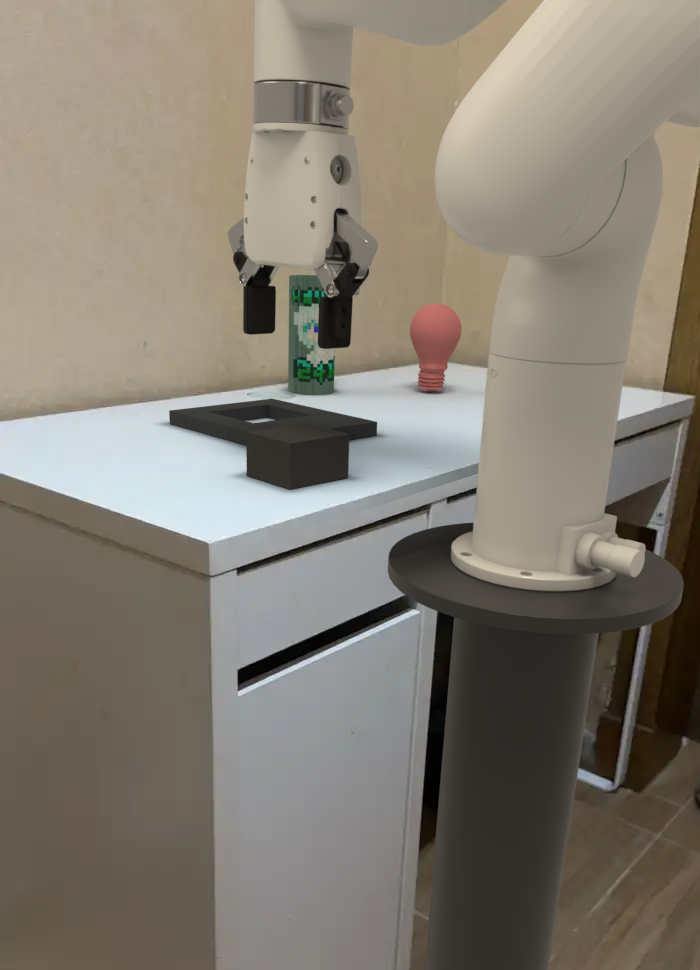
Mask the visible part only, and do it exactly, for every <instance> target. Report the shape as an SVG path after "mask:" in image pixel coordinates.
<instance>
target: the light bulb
mask: <svg viewBox="0 0 700 970" xmlns="http://www.w3.org/2000/svg"><path fill="white" fill-rule="evenodd" d="M409 336H410V341H411V344H412V346H413V349H414V351H415V354H416V356H417V358H418V368H419V372H418V373H417V376H418V377H417V380H418V381H417V384H418V385H417V387H418V388H419V389H421V390H425V391H426V392H428V393H433V392H436V391H438V390H442V389H445V388H444V385H445V379H446V378H445V377H446V375H445V372H446V371H447V369H448V367H449V366H448V363H449V360H450V359H451V357H452V355H453V354H454V352H455V350H456V348H457V346H458V345H459V342H460V340H461V336H462V323H461V320H460V317H459V315H458V314H457V313H456V311H455V310H454V309H453V308H451V307H450V306H448V305H446V304H444V303H439V302H438V303H437V302H434V303H429V304H426V305H424V306H423V307H421V308H419V310H417V311H416V313H414V316H413V317H412V320H411V322H410V324H409Z"/></svg>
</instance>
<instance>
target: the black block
mask: <svg viewBox="0 0 700 970" xmlns="http://www.w3.org/2000/svg"><path fill="white" fill-rule="evenodd" d="M245 446H246V447H245V448H246V449H245V450H246V453H245V454H246V476H247V477H249V478H252V479H256V480H259V481H261V482H265V483H268V484H272V485H274V486H278V487H281V488H283V489H287V490H294V489H299V488H303V487H308V486H309V487H310V486H313V485H318V484H319V485H320V484H324V483H329V482H334V481H338V480H343V479H348V478H349V459H350V440H349V434H347V433H343V432H339V431H335V430H331V429H327V428H322V427H318V426H314V425H310V424H306V423H304V424H297V425H290V426H283V427H276V428H269V429H262V430H255V431H248V432H246V445H245Z"/></svg>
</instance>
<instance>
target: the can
mask: <svg viewBox="0 0 700 970" xmlns="http://www.w3.org/2000/svg"><path fill="white" fill-rule="evenodd" d="M336 277H337V276H335V278H336ZM320 297H327V295H326V293H325V291H324V289H323V287H322V285H321V283H320V281H319V278H318V276H317V274H289V276H288V357H287V358H288V359H287V363H288V364H287V365H288V366H287V367H288V368H287V369H288V371H287V372H288V373H287V375H288V376H287V379H288V380H287V391H288V392H291V393H293V394H299V395H315V396H316V395H328V394H333V393H335V369H336V368H335V367H336V365H335V364H336V363H335V361H336V348H333V349H323V348H320V347H319V346H318V318H319V300H320Z"/></svg>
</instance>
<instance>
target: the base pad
mask: <svg viewBox="0 0 700 970" xmlns="http://www.w3.org/2000/svg"><path fill="white" fill-rule="evenodd" d="M168 413H169V425H172V426H177V427H179V428H183V429H187V430H191V431H195V432H199V433H202V434H205V435H208V436H213V437H216V438H219V439H223V440H225V441H230V442H232V443H233V442H234V443H237V444H240V445H243V446H244V445H245V446H246V432H248V431H255V430H262V429H269V428H276V427H283V426H290V425H297V424H304V423H306V424H310V425H314V426H318V427H322V428H327V429H331V430H335V431H339V432H343V433H347V434H349V441H350V440H357V439H364V438H369V437H374V436H377V435H378V421H375V420H371V419H366V418H361V417H357V416H353V415H348V414H345V413H344V414H343V413H339V412H336V411H331V410H326V409H322V408H321V409H320V408H317V407H312V406H307V405H303V404H298V403H294V402H289V401H285V400H281V399H276V398H265V399H256V400H248V401H240V402H239V401H238V402H231V403H222V404H214V405H204V406H197V407H196V406H195V407H189V408H177V409H169V411H168ZM264 418H269V419H273V420H266V421H259V422H251V421H250V420H256V419H257V420H258V419H264Z"/></svg>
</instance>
